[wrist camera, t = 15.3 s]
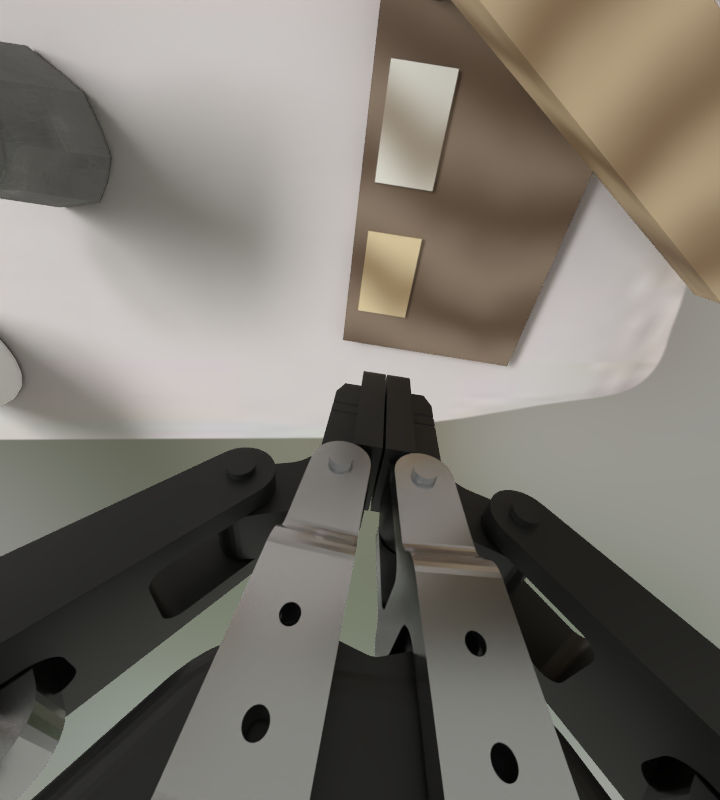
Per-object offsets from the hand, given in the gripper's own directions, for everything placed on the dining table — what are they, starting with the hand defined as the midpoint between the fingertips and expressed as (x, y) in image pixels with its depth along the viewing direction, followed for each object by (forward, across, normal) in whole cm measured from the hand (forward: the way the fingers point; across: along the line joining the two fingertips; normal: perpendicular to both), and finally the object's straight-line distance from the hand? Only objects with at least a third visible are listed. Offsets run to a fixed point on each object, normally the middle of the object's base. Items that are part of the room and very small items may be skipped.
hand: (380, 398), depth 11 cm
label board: (+19, -4, -6) cm, 20 cm away
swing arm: (+13, -9, -11) cm, 19 cm away
